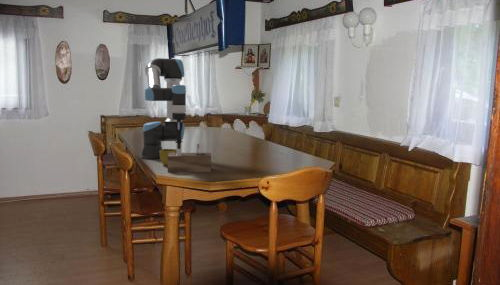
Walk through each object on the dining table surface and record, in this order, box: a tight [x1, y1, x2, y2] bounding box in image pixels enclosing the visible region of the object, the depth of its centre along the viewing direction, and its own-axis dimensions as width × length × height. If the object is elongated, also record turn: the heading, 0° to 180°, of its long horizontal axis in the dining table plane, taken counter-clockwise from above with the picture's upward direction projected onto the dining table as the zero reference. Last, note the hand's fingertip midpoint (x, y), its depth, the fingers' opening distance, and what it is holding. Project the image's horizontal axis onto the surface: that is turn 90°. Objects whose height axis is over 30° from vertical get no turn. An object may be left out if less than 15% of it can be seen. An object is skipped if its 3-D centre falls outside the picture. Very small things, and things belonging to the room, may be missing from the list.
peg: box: [196, 143, 205, 155], centre depth 238 cm, size 4×4×9 cm
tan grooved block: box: [167, 152, 212, 173], centre depth 238 cm, size 12×24×9 cm, turn 97°
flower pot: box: [159, 148, 177, 166], centre depth 252 cm, size 9×9×9 cm
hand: (179, 154), depth 237 cm, fingers closed
